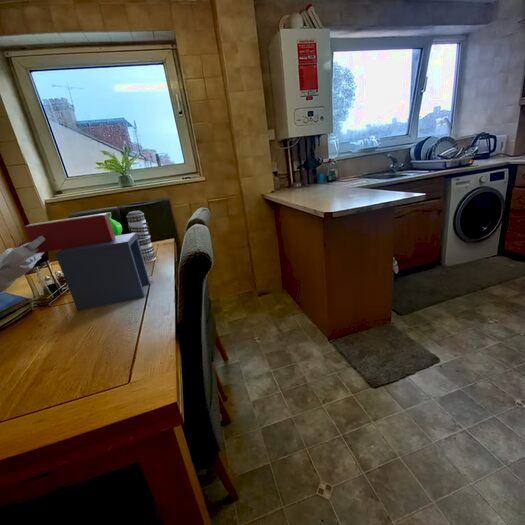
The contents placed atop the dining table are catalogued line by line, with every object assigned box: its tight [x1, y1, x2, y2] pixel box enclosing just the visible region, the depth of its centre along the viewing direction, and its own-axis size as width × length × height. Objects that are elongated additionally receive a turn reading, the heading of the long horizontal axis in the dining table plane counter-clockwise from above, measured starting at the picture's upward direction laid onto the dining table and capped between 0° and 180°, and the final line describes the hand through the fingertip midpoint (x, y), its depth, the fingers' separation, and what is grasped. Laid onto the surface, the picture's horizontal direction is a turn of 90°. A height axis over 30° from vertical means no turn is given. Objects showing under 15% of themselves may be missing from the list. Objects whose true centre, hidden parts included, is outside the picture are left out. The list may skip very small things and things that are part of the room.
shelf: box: [54, 232, 151, 311], centre depth 100 cm, size 22×14×21 cm, turn 103°
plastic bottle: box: [105, 211, 123, 236], centre depth 146 cm, size 10×10×25 cm
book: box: [23, 212, 115, 254], centre depth 94 cm, size 24×4×9 cm, turn 103°
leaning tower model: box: [126, 210, 157, 264], centre depth 137 cm, size 9×9×25 cm
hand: (48, 235), depth 92 cm, fingers closed on book, 4 cm apart
